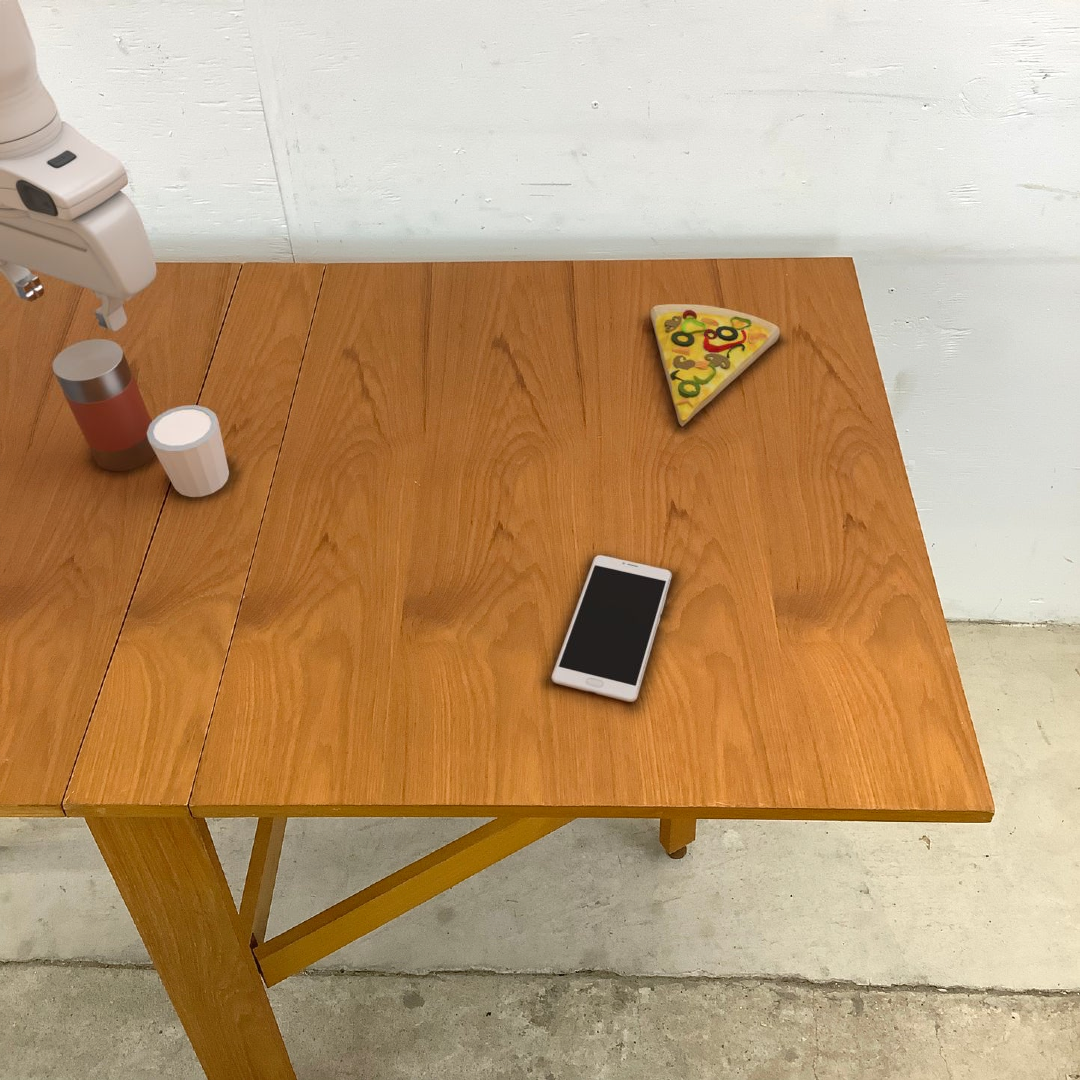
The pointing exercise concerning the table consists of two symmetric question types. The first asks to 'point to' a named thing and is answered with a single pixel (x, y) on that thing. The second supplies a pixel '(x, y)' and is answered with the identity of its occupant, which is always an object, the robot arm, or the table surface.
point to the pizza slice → (706, 350)
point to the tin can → (105, 403)
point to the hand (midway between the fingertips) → (72, 311)
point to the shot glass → (190, 449)
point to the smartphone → (613, 628)
